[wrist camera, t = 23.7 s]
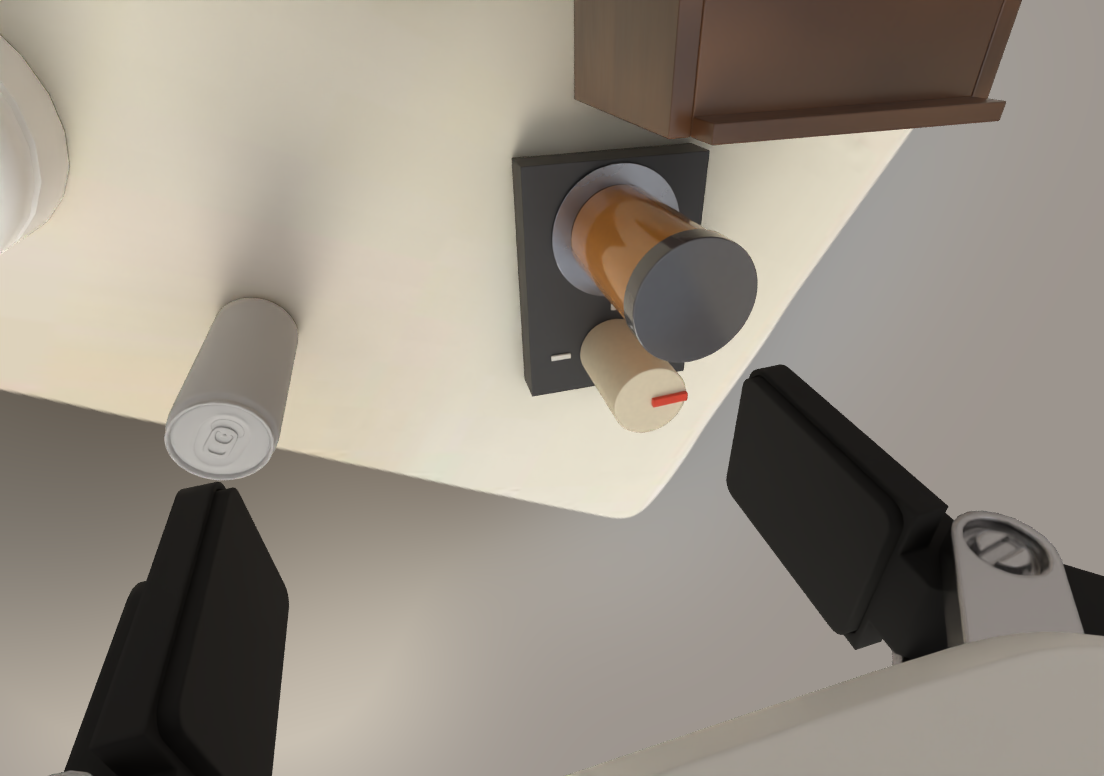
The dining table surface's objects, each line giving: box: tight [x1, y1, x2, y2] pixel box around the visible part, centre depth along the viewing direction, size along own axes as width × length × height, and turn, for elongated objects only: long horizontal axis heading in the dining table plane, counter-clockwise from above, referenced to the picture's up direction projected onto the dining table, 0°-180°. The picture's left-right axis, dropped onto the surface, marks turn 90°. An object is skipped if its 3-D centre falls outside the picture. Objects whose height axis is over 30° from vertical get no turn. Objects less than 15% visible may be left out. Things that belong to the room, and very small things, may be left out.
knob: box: [580, 319, 688, 433], centre depth 39 cm, size 5×5×7 cm
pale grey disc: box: [551, 162, 679, 297], centre depth 37 cm, size 9×9×1 cm
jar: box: [571, 184, 757, 363], centre depth 33 cm, size 7×7×11 cm
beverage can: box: [164, 298, 298, 480], centre depth 32 cm, size 5×5×12 cm
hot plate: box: [512, 143, 709, 396], centre depth 40 cm, size 18×12×3 cm
